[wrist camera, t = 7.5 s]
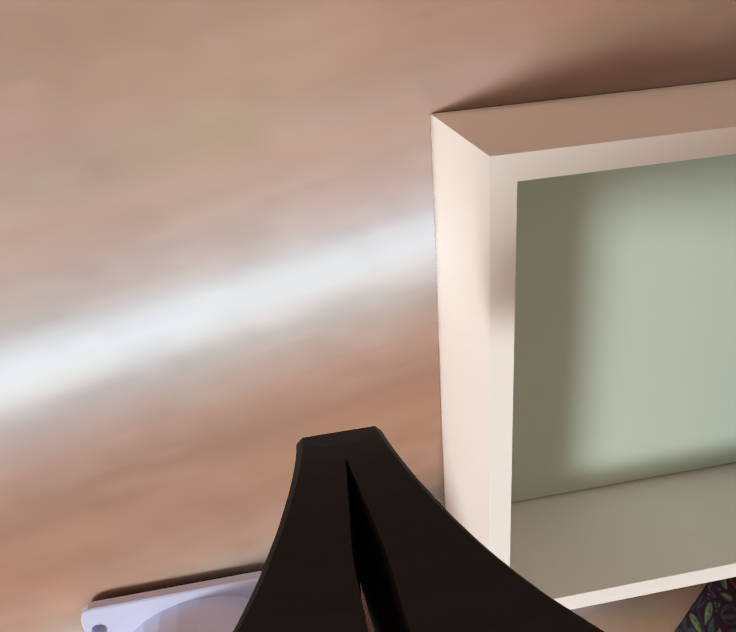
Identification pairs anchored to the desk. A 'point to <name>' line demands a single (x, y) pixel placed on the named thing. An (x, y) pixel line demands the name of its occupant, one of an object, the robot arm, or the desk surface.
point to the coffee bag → (713, 609)
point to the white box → (591, 336)
